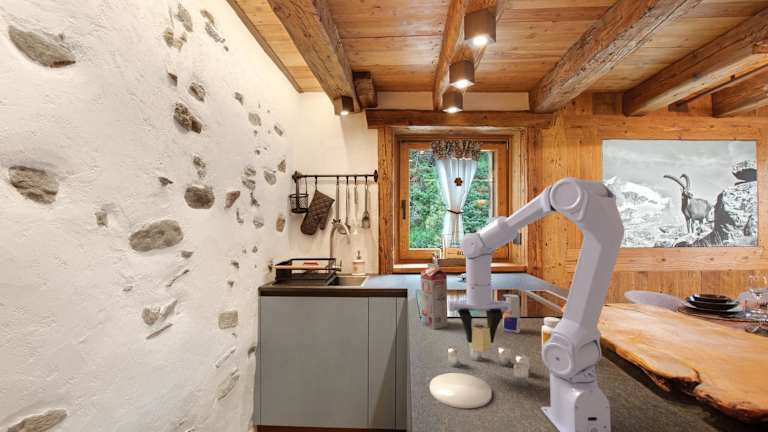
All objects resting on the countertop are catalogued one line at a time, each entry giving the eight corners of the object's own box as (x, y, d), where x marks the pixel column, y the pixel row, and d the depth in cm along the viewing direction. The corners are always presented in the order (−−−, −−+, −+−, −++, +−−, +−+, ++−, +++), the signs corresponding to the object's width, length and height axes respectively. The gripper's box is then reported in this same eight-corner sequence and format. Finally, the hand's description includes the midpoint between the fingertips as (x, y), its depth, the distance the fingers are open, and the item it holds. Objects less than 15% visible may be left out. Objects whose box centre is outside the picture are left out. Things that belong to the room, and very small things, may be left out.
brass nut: (492, 351, 72) (492, 329, 72) (473, 351, 72) (473, 329, 72) (486, 343, 77) (485, 322, 77) (468, 343, 77) (467, 322, 77)
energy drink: (499, 330, 107) (498, 294, 107) (511, 327, 109) (510, 293, 109) (512, 335, 102) (511, 298, 102) (523, 332, 104) (522, 296, 104)
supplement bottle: (567, 359, 83) (566, 322, 83) (545, 357, 84) (544, 321, 85) (560, 351, 88) (559, 316, 89) (539, 350, 89) (538, 315, 90)
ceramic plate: (500, 408, 61) (500, 404, 61) (434, 408, 61) (434, 404, 61) (481, 376, 74) (481, 373, 74) (426, 376, 74) (426, 373, 74)
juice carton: (432, 329, 108) (431, 265, 109) (421, 324, 114) (420, 263, 115) (447, 326, 111) (446, 264, 112) (435, 321, 117) (434, 262, 118)
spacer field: (542, 387, 69) (541, 368, 69) (458, 387, 69) (458, 369, 69) (512, 356, 85) (512, 341, 86) (445, 356, 86) (444, 341, 86)
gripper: (503, 280, 78) (504, 335, 78) (445, 280, 79) (446, 335, 78) (514, 285, 71) (515, 345, 71) (450, 286, 72) (451, 346, 71)
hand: (479, 341), depth 74 cm, fingers closed on brass nut, 4 cm apart
